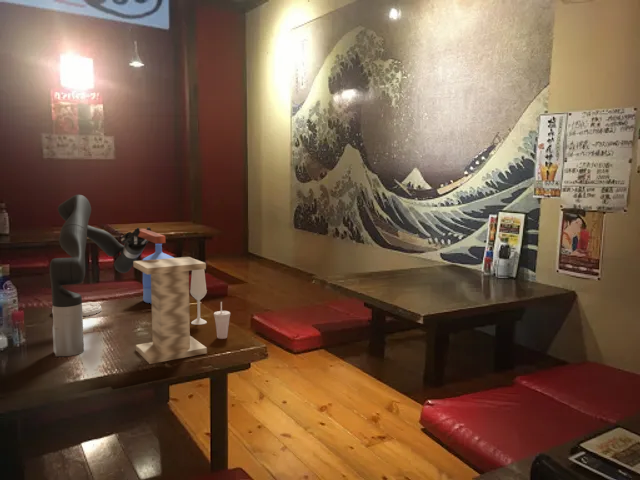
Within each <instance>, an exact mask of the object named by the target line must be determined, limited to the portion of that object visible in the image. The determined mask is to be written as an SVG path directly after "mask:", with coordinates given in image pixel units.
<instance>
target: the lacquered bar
mask: <svg viewBox="0 0 640 480" xmlns="http://www.w3.org/2000/svg"><path fill="white" fill-rule="evenodd" d="M139 229H140V233H139V235H138V237H141V238H143V239H146V240H148V241H149V242H150V243H153V244H166V235H163V234H161V233H158V232H155V231H153V230H151V231H150V230H146V229H147V228H139ZM152 231H153V232H152Z"/></svg>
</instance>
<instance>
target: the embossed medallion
mask: <svg viewBox="0 0 640 480" xmlns="http://www.w3.org/2000/svg"><path fill="white" fill-rule="evenodd" d="M101 311H102V306H101V304H100V303H98V302H94V301H93V302H92V301H87V302H82V316H83V317H89V315H97V314H99V313H100V312H101ZM96 313H97V314H96ZM52 314H53V308H52Z"/></svg>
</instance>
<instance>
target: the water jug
mask: <svg viewBox="0 0 640 480" xmlns="http://www.w3.org/2000/svg"><path fill="white" fill-rule="evenodd" d="M154 244H155V245H154V246H155V247H154V250H155V251H154V253H152V254H149V255H148V256H146V257H143V258H142V260H155V259H168V258H175V257H174V256H172V255H170V254H167V253H165V252H163V247H162V246H163V243H157V244H156V243H154ZM142 292H143V293H142V294H143V296H142V300H143V302H145V304H149V303H150V305H152V300H151V274H145V273H144V272H142Z"/></svg>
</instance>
